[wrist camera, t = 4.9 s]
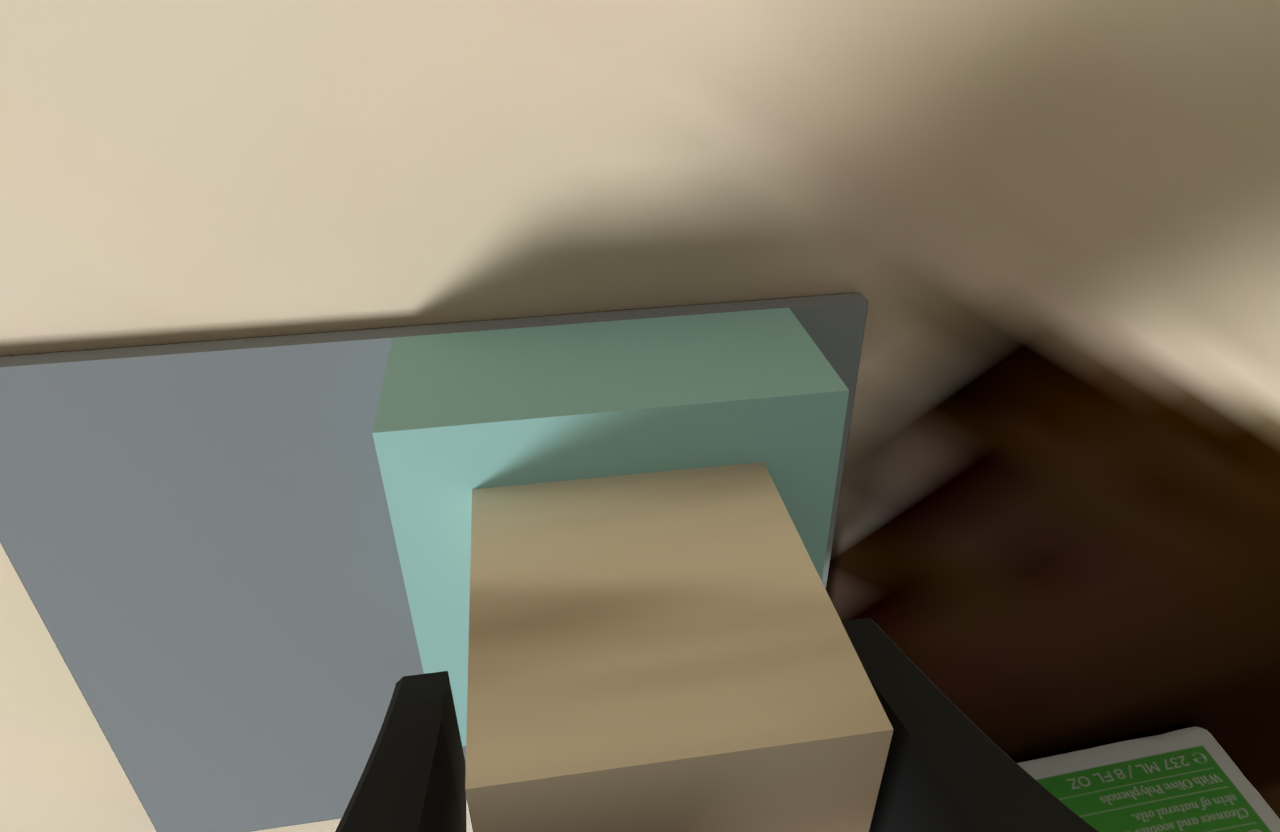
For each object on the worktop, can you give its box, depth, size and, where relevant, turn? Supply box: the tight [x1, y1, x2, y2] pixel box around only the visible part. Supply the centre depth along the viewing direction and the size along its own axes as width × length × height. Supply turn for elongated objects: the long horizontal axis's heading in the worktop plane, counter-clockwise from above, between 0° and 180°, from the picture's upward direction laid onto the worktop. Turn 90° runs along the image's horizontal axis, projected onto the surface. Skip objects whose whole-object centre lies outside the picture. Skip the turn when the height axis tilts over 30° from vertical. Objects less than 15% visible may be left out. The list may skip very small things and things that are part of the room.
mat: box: [0, 293, 868, 832], centre depth 18 cm, size 13×16×1 cm
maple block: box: [465, 462, 894, 832], centre depth 12 cm, size 4×4×5 cm
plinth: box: [372, 308, 849, 746], centre depth 15 cm, size 7×7×3 cm
